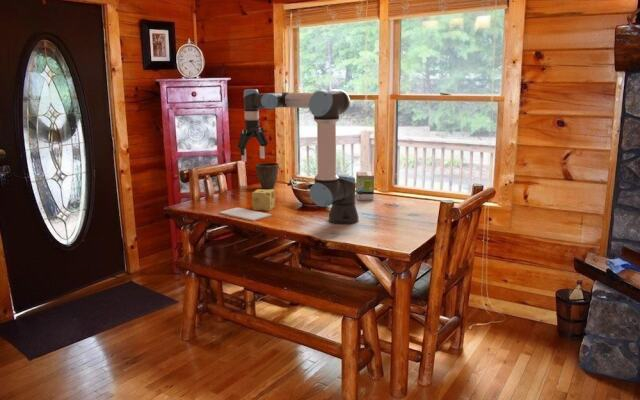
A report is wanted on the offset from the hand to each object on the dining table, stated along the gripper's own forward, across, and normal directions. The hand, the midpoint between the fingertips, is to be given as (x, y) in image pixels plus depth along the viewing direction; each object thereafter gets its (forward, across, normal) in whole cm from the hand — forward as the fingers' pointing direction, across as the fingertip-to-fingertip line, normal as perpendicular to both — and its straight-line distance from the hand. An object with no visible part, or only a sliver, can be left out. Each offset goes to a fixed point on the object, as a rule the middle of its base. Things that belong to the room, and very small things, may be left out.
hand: (253, 159), depth 275 cm
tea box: (+28, -63, +29) cm, 75 cm away
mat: (+28, +9, +1) cm, 29 cm away
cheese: (+28, -7, -1) cm, 29 cm away
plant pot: (+28, -47, -36) cm, 66 cm away
